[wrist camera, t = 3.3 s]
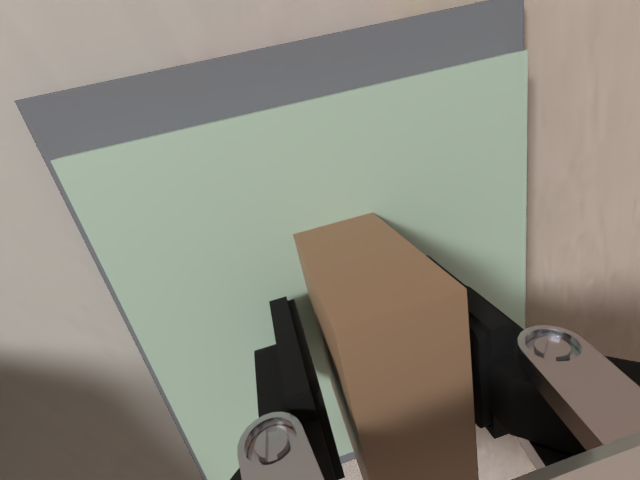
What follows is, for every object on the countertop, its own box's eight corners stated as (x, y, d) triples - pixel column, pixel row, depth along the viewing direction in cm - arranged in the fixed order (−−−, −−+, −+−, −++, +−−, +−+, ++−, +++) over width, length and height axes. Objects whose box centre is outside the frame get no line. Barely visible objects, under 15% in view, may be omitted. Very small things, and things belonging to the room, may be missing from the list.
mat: (512, 390, 17) (521, 399, 17) (218, 493, 16) (217, 507, 15) (509, -2, 11) (523, -8, 11) (27, 100, 10) (14, 100, 9)
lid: (511, 378, 16) (646, 513, 11) (217, 479, 15) (207, 694, 9) (508, 53, 11) (755, 9, 6) (64, 156, 10) (-147, 222, 4)
